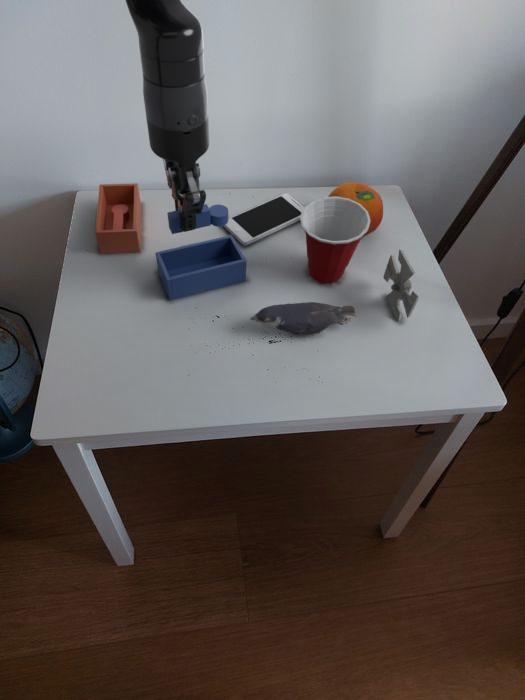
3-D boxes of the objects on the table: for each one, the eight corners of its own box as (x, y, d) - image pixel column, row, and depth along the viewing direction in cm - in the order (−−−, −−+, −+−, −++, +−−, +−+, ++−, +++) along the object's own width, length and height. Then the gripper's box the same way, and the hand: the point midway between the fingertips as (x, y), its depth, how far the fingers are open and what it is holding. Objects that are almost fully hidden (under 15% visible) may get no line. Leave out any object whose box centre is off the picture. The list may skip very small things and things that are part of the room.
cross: (411, 330, 81) (431, 286, 73) (396, 332, 81) (414, 288, 73) (387, 284, 87) (403, 238, 79) (373, 286, 87) (387, 240, 79)
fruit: (310, 223, 96) (316, 187, 89) (348, 203, 100) (357, 167, 94) (350, 255, 91) (360, 219, 85) (389, 232, 95) (400, 196, 89)
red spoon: (129, 244, 89) (126, 232, 86) (111, 245, 88) (108, 232, 86) (130, 211, 94) (127, 199, 92) (113, 212, 94) (110, 199, 91)
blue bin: (169, 300, 82) (167, 280, 78) (158, 273, 86) (155, 252, 82) (245, 281, 86) (246, 260, 82) (231, 255, 89) (232, 234, 86)
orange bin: (140, 251, 89) (136, 231, 85) (100, 253, 88) (95, 232, 84) (140, 204, 96) (137, 183, 93) (104, 205, 96) (99, 184, 92)
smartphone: (221, 224, 94) (221, 220, 93) (286, 196, 100) (286, 192, 99) (244, 246, 91) (244, 242, 90) (309, 215, 97) (310, 211, 96)
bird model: (356, 335, 80) (362, 314, 76) (251, 344, 78) (252, 323, 74) (349, 314, 83) (355, 293, 79) (247, 321, 80) (248, 300, 76)
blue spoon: (173, 237, 75) (171, 222, 72) (167, 224, 76) (165, 209, 74) (231, 224, 77) (231, 209, 75) (224, 212, 79) (224, 197, 76)
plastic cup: (284, 256, 90) (291, 199, 80) (341, 247, 92) (354, 190, 83) (304, 300, 84) (314, 244, 74) (364, 289, 86) (382, 234, 76)
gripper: (132, 88, 64) (149, 202, 78) (162, 146, 57) (175, 261, 71) (189, 80, 67) (196, 193, 80) (225, 135, 59) (226, 249, 73)
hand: (186, 224), depth 76 cm, fingers closed on blue spoon, 1 cm apart
